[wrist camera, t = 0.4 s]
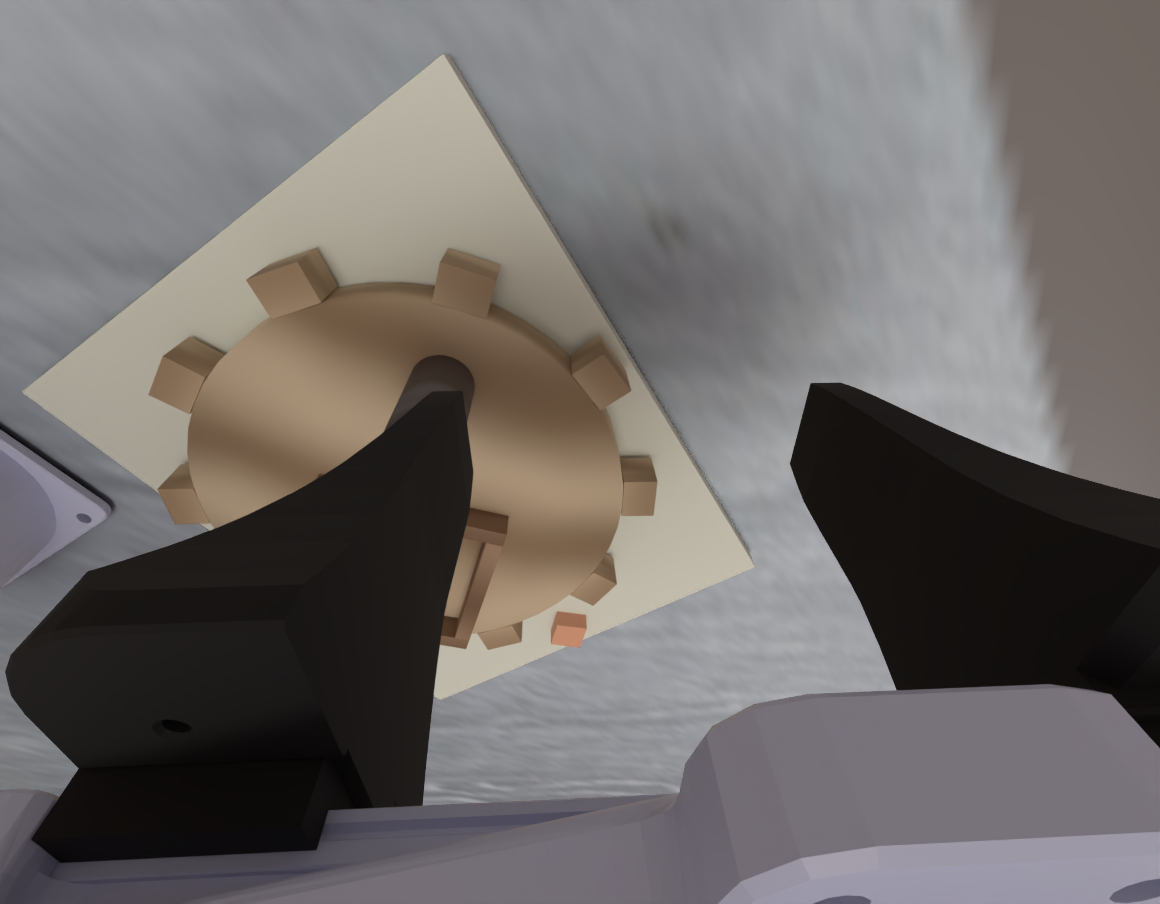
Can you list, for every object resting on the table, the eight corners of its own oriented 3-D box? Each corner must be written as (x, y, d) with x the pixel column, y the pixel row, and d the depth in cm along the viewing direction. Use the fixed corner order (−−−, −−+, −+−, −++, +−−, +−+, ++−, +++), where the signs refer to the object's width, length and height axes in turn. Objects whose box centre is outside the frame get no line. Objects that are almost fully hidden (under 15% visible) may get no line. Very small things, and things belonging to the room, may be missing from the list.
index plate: (443, 683, 31) (437, 714, 29) (43, 378, 20) (2, 403, 18) (748, 551, 26) (760, 580, 24) (449, 55, 15) (438, 52, 14)
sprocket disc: (161, 155, 15) (13, 186, 11) (725, 338, 19) (775, 413, 15) (188, 586, 24) (113, 693, 20) (565, 652, 28) (567, 754, 24)
